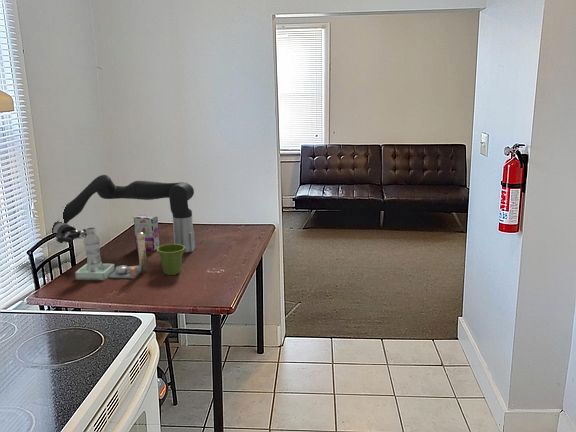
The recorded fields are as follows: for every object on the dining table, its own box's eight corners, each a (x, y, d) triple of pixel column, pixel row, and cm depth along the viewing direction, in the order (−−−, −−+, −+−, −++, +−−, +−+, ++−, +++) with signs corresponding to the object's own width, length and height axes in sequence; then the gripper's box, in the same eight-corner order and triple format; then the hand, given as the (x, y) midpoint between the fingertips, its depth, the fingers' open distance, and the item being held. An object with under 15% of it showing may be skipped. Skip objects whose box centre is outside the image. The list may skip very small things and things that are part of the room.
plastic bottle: (106, 271, 236) (102, 227, 231) (95, 276, 230) (90, 231, 225) (95, 269, 239) (90, 225, 234) (84, 274, 233) (78, 230, 228)
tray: (115, 270, 240) (114, 263, 239) (104, 280, 229) (103, 273, 228) (87, 270, 241) (86, 263, 240) (75, 279, 230) (74, 272, 229)
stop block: (135, 274, 235) (134, 266, 234) (135, 276, 233) (134, 269, 232) (131, 274, 235) (130, 267, 234) (131, 277, 232) (130, 269, 231)
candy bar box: (160, 248, 271) (158, 216, 267) (154, 251, 267) (152, 218, 262) (141, 245, 275) (139, 214, 271) (135, 248, 271) (132, 216, 267)
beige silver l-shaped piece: (115, 274, 232) (112, 236, 227) (115, 270, 236) (112, 233, 232) (147, 271, 235) (145, 233, 231) (147, 267, 240) (144, 230, 236)
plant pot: (162, 279, 229) (160, 253, 227) (155, 270, 240) (153, 246, 237) (189, 274, 235) (188, 249, 232) (181, 266, 245) (180, 242, 242)
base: (141, 271, 238) (140, 269, 238) (134, 278, 231) (134, 276, 230) (116, 271, 239) (116, 269, 239) (109, 277, 231) (109, 275, 231)
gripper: (80, 236, 256) (97, 243, 245) (50, 243, 246) (65, 251, 235) (79, 221, 254) (95, 227, 243) (48, 227, 244) (63, 234, 233)
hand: (80, 239), depth 239 cm, fingers open, 8 cm apart
